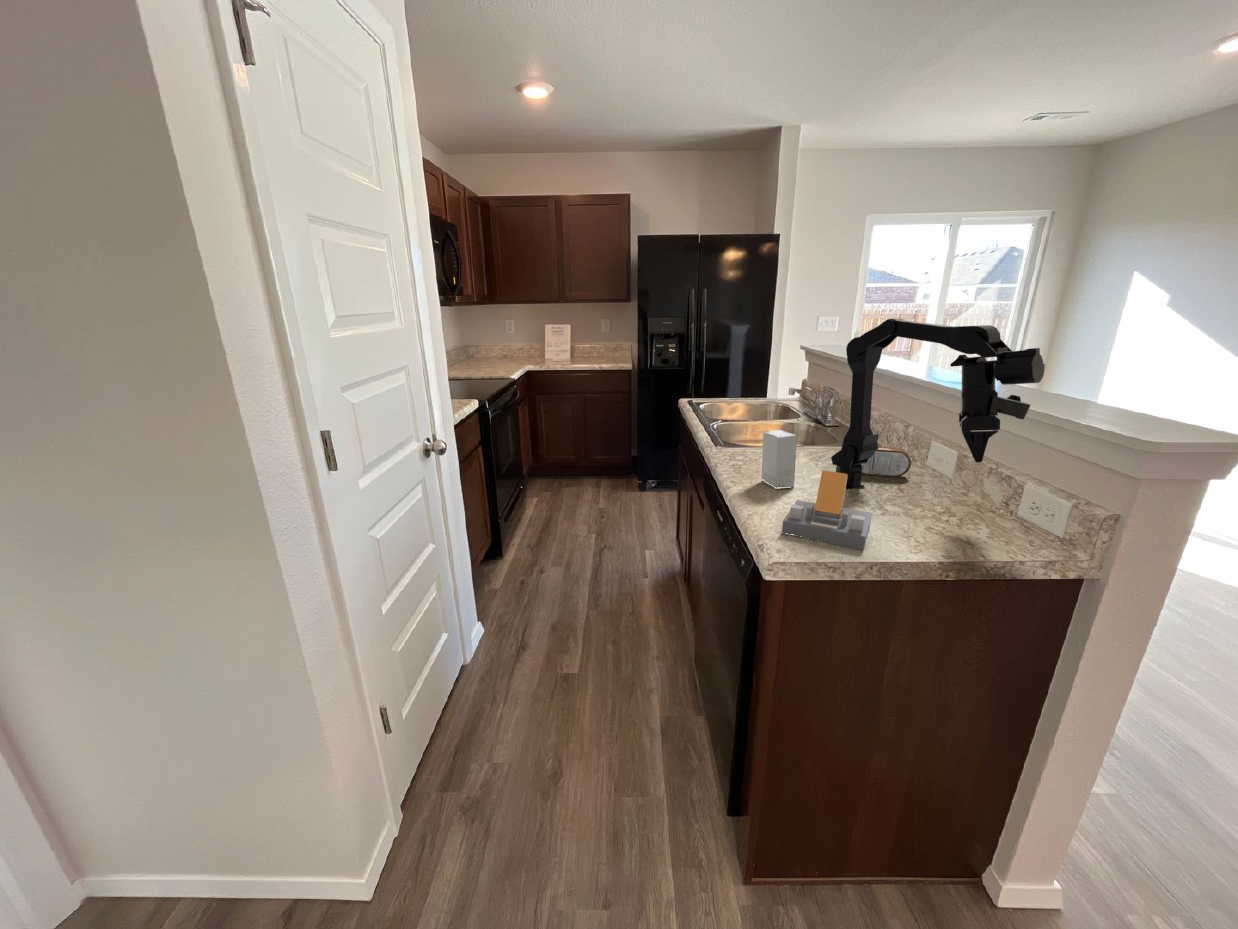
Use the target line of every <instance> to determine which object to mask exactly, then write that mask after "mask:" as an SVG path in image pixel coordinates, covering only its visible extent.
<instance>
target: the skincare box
mask: <svg viewBox="0 0 1238 929" xmlns="http://www.w3.org/2000/svg"><path fill="white" fill-rule="evenodd" d="M797 438H798V435H797V434H794V433H790V432H789V431H788V432H787V431H784V430H781V429H777V430H769V431H763V433H762V453H761V454H762V456H761V457H762V458H761V460H762V461H761V480H762V479H764V480H765V481H766V482H768V483H769V484H771V485H773V486H774V487H776V488H777V487H794V488H795V478H796V475H795V474H796V456H797Z"/></svg>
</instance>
